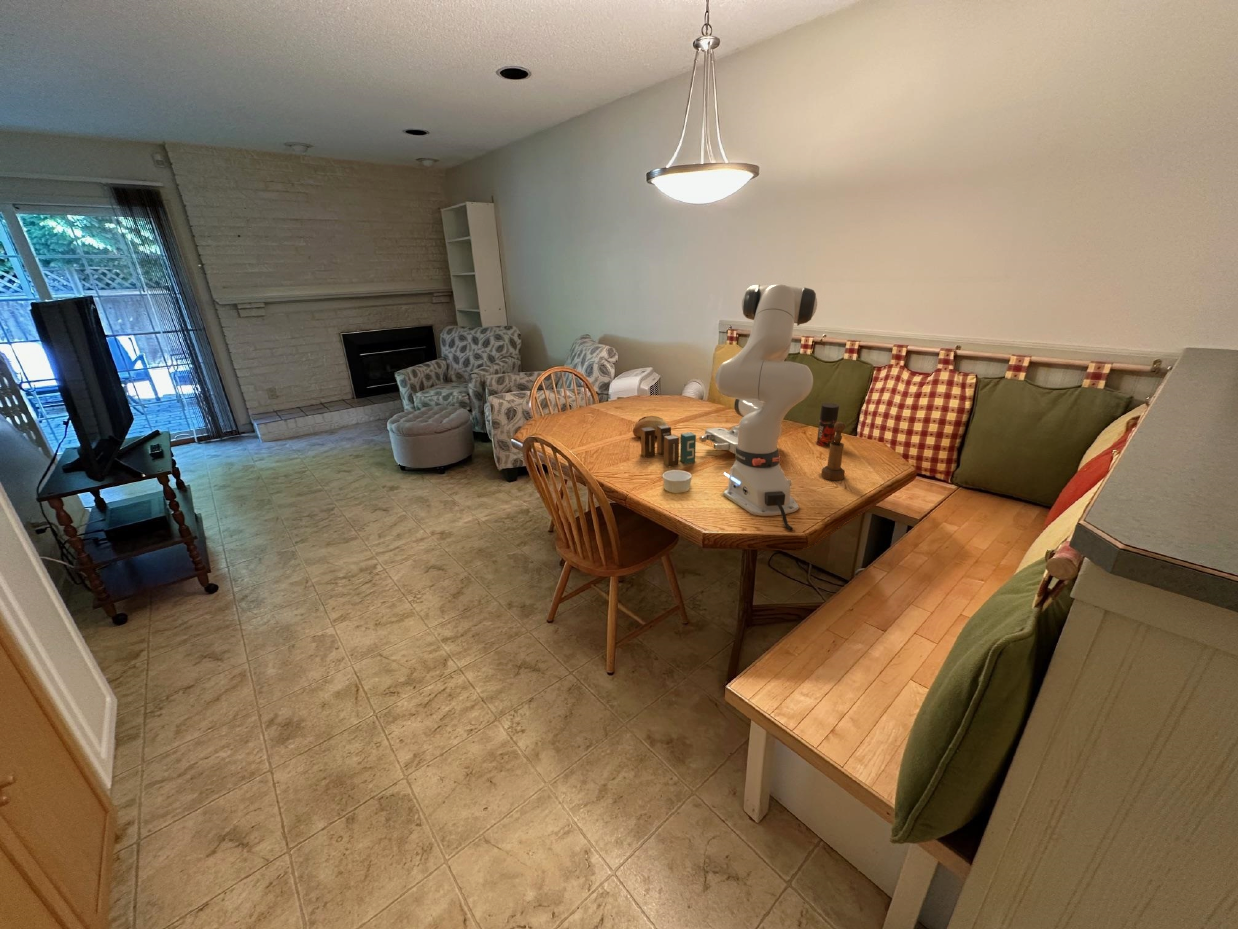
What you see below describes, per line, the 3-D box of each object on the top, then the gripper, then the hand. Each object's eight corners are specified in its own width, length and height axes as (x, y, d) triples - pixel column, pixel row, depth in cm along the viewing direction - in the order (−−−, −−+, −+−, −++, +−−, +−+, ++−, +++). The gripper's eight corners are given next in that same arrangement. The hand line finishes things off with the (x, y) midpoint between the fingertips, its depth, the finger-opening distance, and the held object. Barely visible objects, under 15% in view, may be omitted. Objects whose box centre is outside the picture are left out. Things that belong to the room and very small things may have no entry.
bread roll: (631, 433, 199) (630, 415, 196) (666, 431, 201) (666, 412, 198) (634, 440, 190) (634, 421, 188) (671, 438, 192) (671, 419, 189)
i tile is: (673, 461, 168) (674, 434, 164) (678, 465, 165) (679, 437, 161) (663, 463, 167) (663, 436, 163) (668, 467, 163) (668, 439, 160)
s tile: (690, 458, 170) (690, 432, 166) (695, 462, 167) (696, 435, 163) (680, 460, 169) (680, 433, 165) (685, 464, 166) (685, 436, 162)
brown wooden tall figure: (836, 472, 155) (843, 418, 148) (848, 479, 149) (856, 424, 142) (817, 473, 154) (824, 420, 147) (828, 481, 148) (836, 426, 141)
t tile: (666, 450, 179) (666, 424, 176) (671, 453, 176) (671, 427, 173) (657, 451, 178) (656, 426, 174) (661, 454, 175) (661, 428, 171)
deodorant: (813, 444, 180) (818, 405, 175) (821, 440, 184) (826, 402, 178) (828, 447, 176) (834, 408, 171) (836, 444, 180) (842, 405, 174)
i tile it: (650, 452, 177) (650, 426, 174) (655, 455, 174) (655, 429, 170) (641, 454, 176) (640, 428, 172) (645, 457, 173) (644, 431, 169)
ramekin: (656, 488, 148) (656, 475, 146) (676, 480, 153) (676, 467, 151) (677, 496, 141) (677, 483, 140) (697, 488, 147) (697, 475, 145)
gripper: (724, 421, 181) (692, 426, 176) (758, 436, 163) (723, 442, 159) (724, 437, 183) (692, 443, 179) (757, 454, 165) (722, 460, 161)
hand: (707, 443), depth 168 cm, fingers open, 8 cm apart
